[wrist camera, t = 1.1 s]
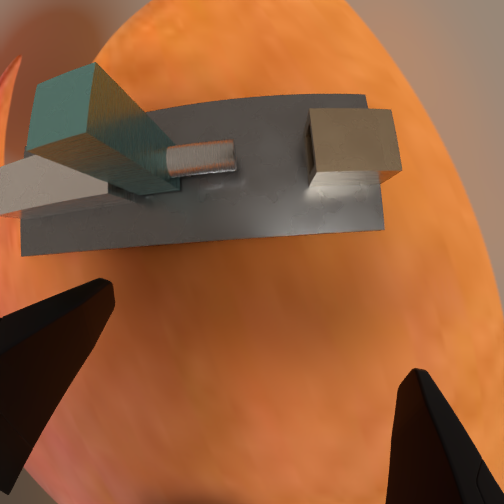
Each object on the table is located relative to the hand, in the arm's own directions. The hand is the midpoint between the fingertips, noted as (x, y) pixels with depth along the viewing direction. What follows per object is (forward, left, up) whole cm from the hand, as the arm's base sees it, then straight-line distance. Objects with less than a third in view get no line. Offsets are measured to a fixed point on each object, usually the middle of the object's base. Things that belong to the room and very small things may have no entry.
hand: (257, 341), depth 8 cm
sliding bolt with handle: (-3, +13, -12) cm, 18 cm away
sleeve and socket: (0, +11, -13) cm, 17 cm away
